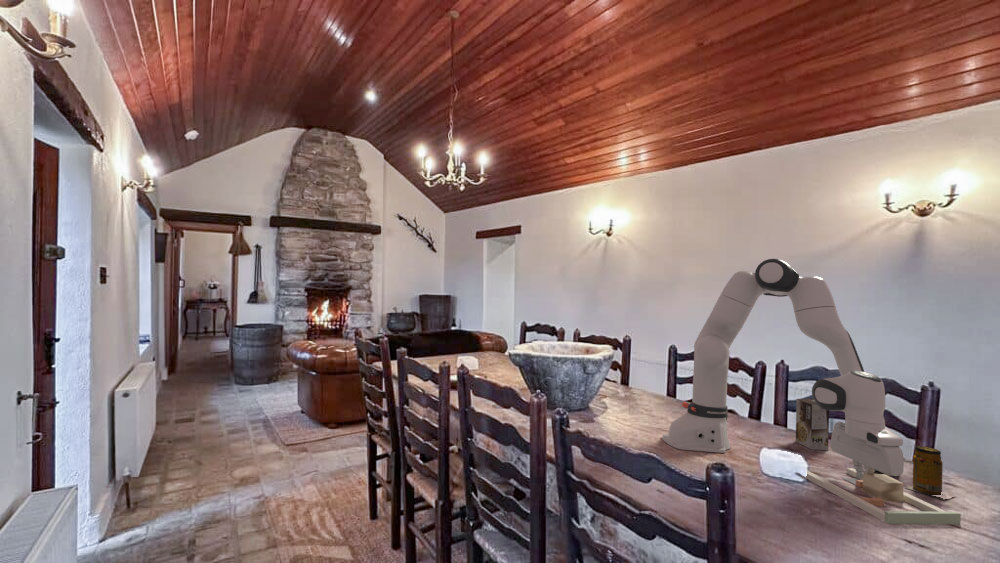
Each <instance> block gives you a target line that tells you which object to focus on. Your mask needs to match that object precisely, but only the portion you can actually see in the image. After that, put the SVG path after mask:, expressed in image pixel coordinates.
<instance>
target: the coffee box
mask: <svg viewBox="0 0 1000 563" xmlns="http://www.w3.org/2000/svg"><path fill="white" fill-rule="evenodd" d="M795 402H796V405H795V406H796V407H795V408H796V410H795V442H796V443H797V444H800V445H802V446H804V447H805V448H808V449H810V450H815V451H816V450H817V451H829V437H830V435H829V434H830V433H829V431H830V430H829V429H830V411H829V410H825V409H822V408H821V407H819V406H818V405H817V404H816V403H815V401H814V399H813V398H811V399H810V398H796V401H795Z"/></svg>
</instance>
